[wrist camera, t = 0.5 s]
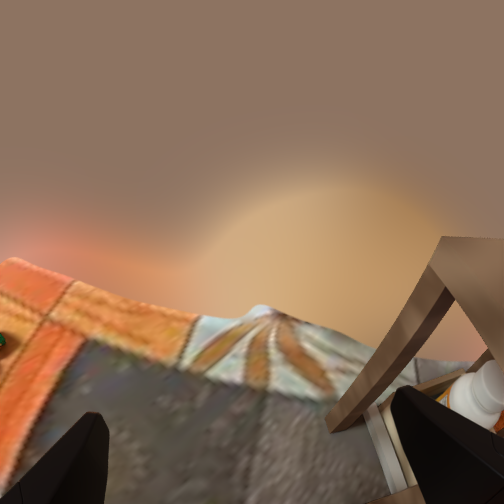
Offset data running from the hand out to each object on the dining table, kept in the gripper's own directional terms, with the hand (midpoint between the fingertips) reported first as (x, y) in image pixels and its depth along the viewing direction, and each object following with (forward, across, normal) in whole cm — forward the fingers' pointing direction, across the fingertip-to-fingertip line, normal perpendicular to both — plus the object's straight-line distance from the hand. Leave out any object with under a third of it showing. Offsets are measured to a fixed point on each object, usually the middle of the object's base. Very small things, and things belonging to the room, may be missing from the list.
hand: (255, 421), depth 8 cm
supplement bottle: (+6, -17, +16) cm, 24 cm away
